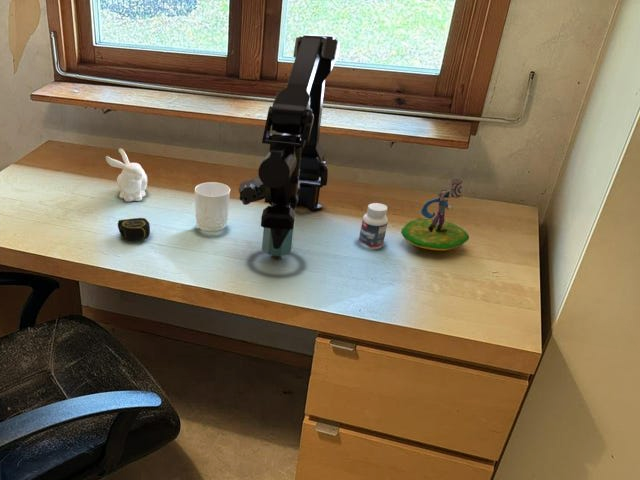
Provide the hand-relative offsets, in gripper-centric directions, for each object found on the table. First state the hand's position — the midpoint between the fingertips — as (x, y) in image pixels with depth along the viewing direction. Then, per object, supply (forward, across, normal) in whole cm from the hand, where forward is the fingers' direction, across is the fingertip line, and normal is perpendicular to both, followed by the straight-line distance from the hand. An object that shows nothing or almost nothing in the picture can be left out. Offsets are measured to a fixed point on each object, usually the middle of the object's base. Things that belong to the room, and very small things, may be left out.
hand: (277, 241), depth 142 cm
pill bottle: (+6, -12, +20) cm, 24 cm away
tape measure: (+6, -6, -33) cm, 34 cm away
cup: (+2, 0, 0) cm, 2 cm away
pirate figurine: (+6, -14, +32) cm, 36 cm away
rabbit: (+6, -28, -39) cm, 48 cm away
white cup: (+6, -13, -16) cm, 21 cm away
